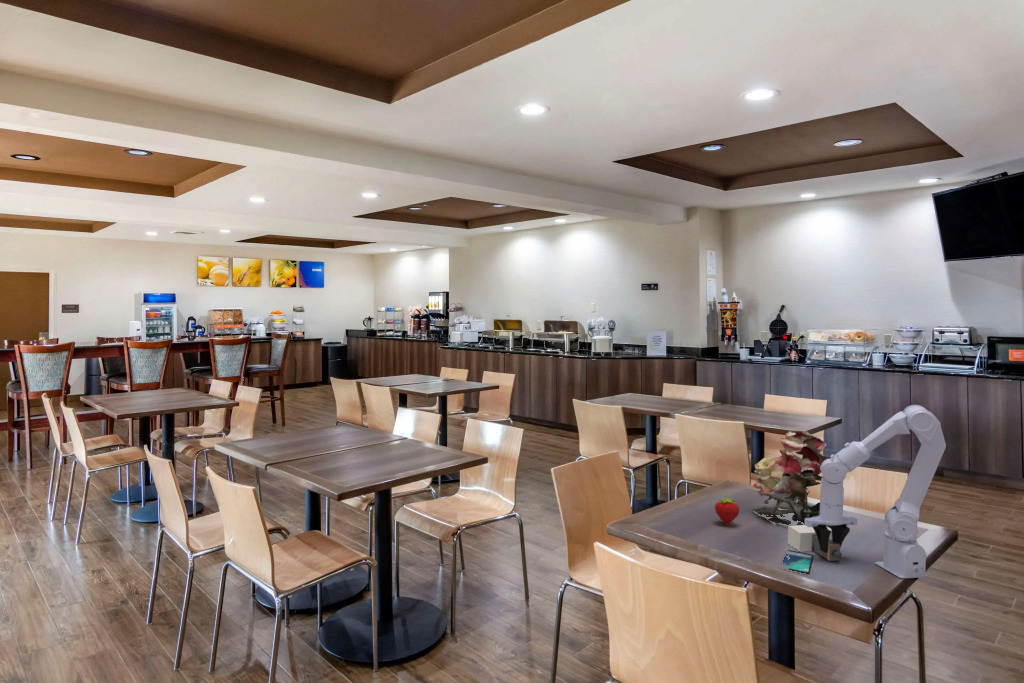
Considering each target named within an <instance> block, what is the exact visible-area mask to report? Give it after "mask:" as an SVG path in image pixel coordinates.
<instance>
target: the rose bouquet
mask: <svg viewBox="0 0 1024 683" xmlns="http://www.w3.org/2000/svg"><path fill="white" fill-rule="evenodd" d="M779 442H780V443H781V445H782V447H783V448H784V449H779V452H780V454H781V455H780V456H773V457H772V456H770V457H769V456H768V457H763V458H762V459H761V460H760V461H758V462H757V463H755V464H754V468H755V470H754V473H755V475H754V477H755V478H757V480H756V482H755V483H753V487H754V488H755V489H759V490H758V491H756V494H758V495H760V497H763V496H766V497H768V499H766V500H764V502H763V505H762V504H761V505H760V504H758V505H756V506H754V507H753V510H751V512H752V511H755V512H757V513H758V514H760V515H762V514H764V515H766V517H772V518H770V519H768V520H770V521H772V522H775V523H782V524H786V525H789V524H791V521H789V520H786V519H780V518H778V517H777V516H776V515H780V516H781V517H782V516H783V514H788V513H794V514H795V516H794V517H795V518H796V521H797V520H798V521H801V522H803V523H804V525H805V518H811V517H816V516H819V514H820V501H819V502H817V503H816V504H814V505H809V504H808V500H809V499H808V495H809V493H810V491H811V490H809V487H813V486H814V487H815V486H818V485H819V486H820V485H821V484H822V483H821V479H822V476H821V475H820V474H822V472H821V470H820V467H821V465H822V463H823V461H825V460H826V459H831V457H826V456H824V455H823V454H822V453H821V452H823V451H824V448H825V447H826V446H827V444H826V443H825V441H823V440H822V439H820V438H819V437H818V436H814V435H812V434H811V433H810V432H809V431H805V430H800V429H794V430H789V431H788V432H786V433H785V437H781V438H780V439H779ZM771 499H774V500H775V501H776V505H775V507H774V508H773V507H771V506H768V505H767V504H769V503H770V502H769V500H771ZM782 503H787V504H788V506H789V507H790V508H789V510H779V509H778V508H780V505H781V504H782ZM758 514H756V513H753V515H755V516H757V515H758ZM767 515H768V516H767ZM771 515H773V516H771ZM783 517H785V516H783ZM768 520H767V521H768Z"/></svg>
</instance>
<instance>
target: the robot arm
mask: <svg viewBox="0 0 1024 683" xmlns="http://www.w3.org/2000/svg"><path fill="white" fill-rule="evenodd" d="M910 430H911V431H912V432H913V433H914V434H915V436H916V437H917V439H918V441H919V442H920V448H919V450H918V452H917V454H916V457H915V460H914V462H913V464H912V466H911V469H910V471H909V474H908V476H907V479H906V480H905V483H904V486H903V488H902V490H901V492H900V495H899V496H898V497H897V499H896V500H895V501H894V502H893V505H892V507H890V508H889V509H888V510H887V511H886V512H885V514H884V521H885V523H886V524H887V526H888V527H887V528H886V529H885V531H884V535H883V536H884V539H883V541H884V542H883V561H875V562H874V563H875V564H876V565H877V566H879V567H880V568H882V569H884V570H885V571H887V572H889V573H891V574H892V575H894V576H896V577H898V578H899V579H915V578H917V579H918V578H928V577H929V575H928V574H926V564H927V562H926V561H927V552H926V550H925V548H923V546H922V545H920V544H919V542H918V540H917V538H918V537H917V535H918V532H919V529H918V522H919V520H920V511H921V510H920V508H921V507H922V504H923V501H924V499H925V496H926V494H927V493H928V490H929V488H930V485H931V483H932V480H933V479H934V476H935V474H936V471H937V468H938V467H939V464H940V461H941V459H942V457H943V455H944V452H945V450H946V447H947V444H946V439H945V437H944V434H943V430H942V424H941V422H940V421H939V419H938V418H937V417H936V416H935V415H934V414H933V412H931V411H929V410H927V409H926V407H924V406H923V405H919V404H912V405H908V406H907V407H904V409H903V411H900V410H899V411H898V412H897V413H896V414H894V415H893V416H891V417H890V418H889V419H887V420H886V421H885V422H884V423H882V424H881V425H880V426H879V427H878V428H877V429H875V430H874V431H873V432H871V433H870V434H869V435H868V436H866V437H865V438H864V439H863V440H862V441H852V442H848V441H847V442H846V443H845V444H844V445H843V446H844V447H843V448H842V449H841V450H839V451H838V452H837V453H835V454H834V453H832V454H831V455H830V457H829V458H831V459H826V460H825V461H823V463H822V465H821V467H820V470H821V475H822V479H821V481H820V483H821V484H820V495H819V496H820V497H819V502H820V514H819V516H816V517H811V518H809V517H808V518H805V525H806V526H807V527H813V529H814V531H815V533H816V535H817V538H818V541H819V545H820V550H821V551H823V552H825V553H827V551H828V541H829V536H830V533H831V531H832V541H834V542H835V543H837V544H839V545H840V549H841V548H842V545H843V542H844V540H845V539H846V537H847V535H848V534H849V533H850V529H851V528H850V527H848V526H855V527H856V526H858V518H857V517H854V516H851V515H850V516H846V515H844V497H845V496H844V494H845V488H844V481H845V479H846V477H847V473H851V472H853V471H855V469H857V468H858V467H859V466H861V465H863V463H865V462H866V461H868V460H869V459H870V457H871V456H870V455H871V451H873V450H875V449H877V448H878V447H879V446H881V445H882V444H884V443H886V442H888V441H889V440H890V439H892V438H893V437H894V436H896V435H911V432H910ZM826 526H827V527H830V529H831V531H830V530H829V529H827V527H826Z"/></svg>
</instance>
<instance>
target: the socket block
mask: <svg viewBox="0 0 1024 683" xmlns="http://www.w3.org/2000/svg"><path fill="white" fill-rule="evenodd" d="M826 527H827V529H829V530H830V531H831V527H830V526H826ZM787 528H788V530H787V545H789V544H790V545H791V546H790V545H789V546H790V547H792V546H793V547H794V548H793V547H792V548H793V549H795V548H796V549H797V550H796V549H795V550H796V551H798V550H799V551H809V552H812V551H813V548H812V547H814V536H817V535H816V533H815V531H814V529H813V527H807V526H806V525H800V524H798V525H792V526H788V527H787ZM829 539H830V540H832V531H831V533H830V536H829ZM799 551H798V552H799Z"/></svg>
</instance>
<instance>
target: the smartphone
mask: <svg viewBox="0 0 1024 683" xmlns="http://www.w3.org/2000/svg"><path fill="white" fill-rule="evenodd" d="M787 550H788V551H787ZM787 550H786V551H787V552H789V553H790V554H787V553H786V552H785V553H786V556H788V555H789V557H790V559H789V560H788V558H787V557H786V556H785V555H784V556H785V557H784V556H783V558H784V560H783V559H782V561H783V566H786V568H789V570H792V571H797V572H801V573H806V574H809V573H811V570H810V569H811V568H812V566H811V565H812V564H813V561H814V554H812V553H808V552H799V551H798V550H792V549H787ZM809 575H810V574H809Z"/></svg>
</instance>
